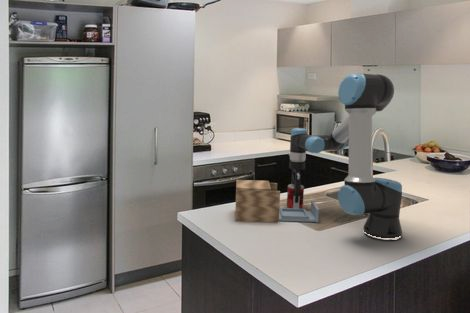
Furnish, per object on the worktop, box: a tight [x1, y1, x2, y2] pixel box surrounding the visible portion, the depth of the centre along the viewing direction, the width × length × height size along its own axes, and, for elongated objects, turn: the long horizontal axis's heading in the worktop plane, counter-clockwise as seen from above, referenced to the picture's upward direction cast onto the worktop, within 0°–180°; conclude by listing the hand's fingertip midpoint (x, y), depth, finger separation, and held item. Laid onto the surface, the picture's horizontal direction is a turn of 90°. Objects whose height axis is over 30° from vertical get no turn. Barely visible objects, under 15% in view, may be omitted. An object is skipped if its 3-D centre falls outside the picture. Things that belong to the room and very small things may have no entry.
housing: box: [234, 179, 281, 223], centre depth 191 cm, size 19×15×15 cm
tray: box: [279, 200, 320, 223], centre depth 192 cm, size 20×13×6 cm, turn 90°
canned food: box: [286, 183, 305, 209], centre depth 207 cm, size 8×8×11 cm
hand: (294, 206), depth 207 cm, fingers closed on canned food, 8 cm apart
